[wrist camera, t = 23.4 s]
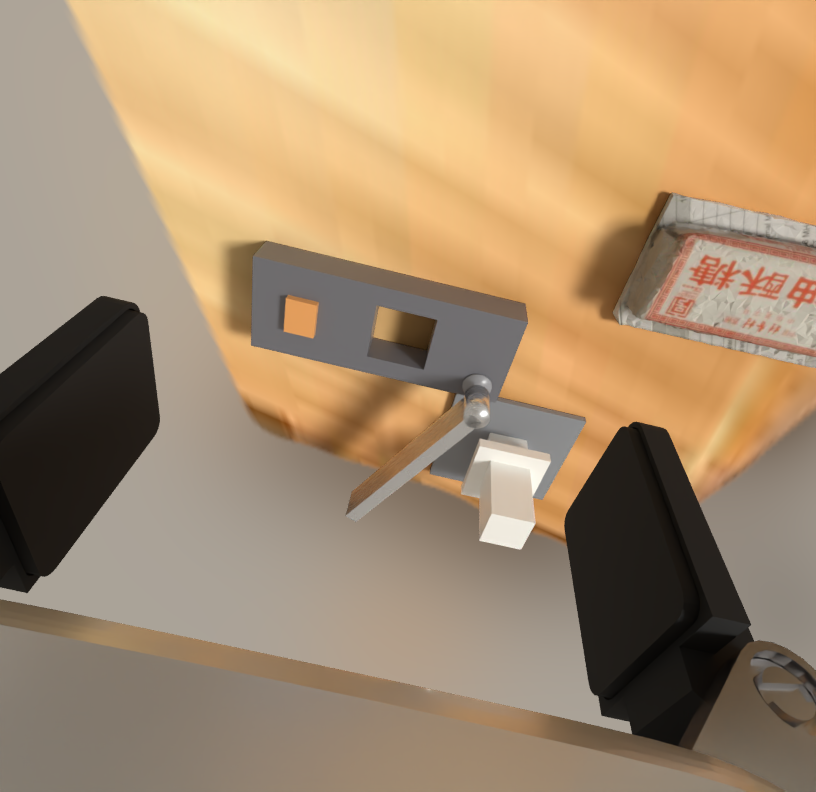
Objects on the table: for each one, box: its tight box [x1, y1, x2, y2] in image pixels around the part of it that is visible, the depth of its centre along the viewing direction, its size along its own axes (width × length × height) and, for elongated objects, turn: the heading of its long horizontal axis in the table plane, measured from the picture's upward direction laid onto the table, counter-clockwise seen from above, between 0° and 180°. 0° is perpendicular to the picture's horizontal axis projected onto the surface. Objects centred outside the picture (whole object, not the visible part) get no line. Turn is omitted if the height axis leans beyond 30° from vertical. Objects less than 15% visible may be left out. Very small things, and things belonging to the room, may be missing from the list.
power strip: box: [251, 241, 528, 403], centre depth 42 cm, size 21×8×4 cm, turn 78°
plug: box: [461, 433, 551, 549], centre depth 46 cm, size 6×6×10 cm
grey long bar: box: [345, 385, 490, 522], centre depth 45 cm, size 18×2×3 cm, turn 141°
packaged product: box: [613, 192, 816, 368], centre depth 37 cm, size 18×5×10 cm
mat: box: [430, 394, 586, 500], centre depth 50 cm, size 12×11×1 cm
